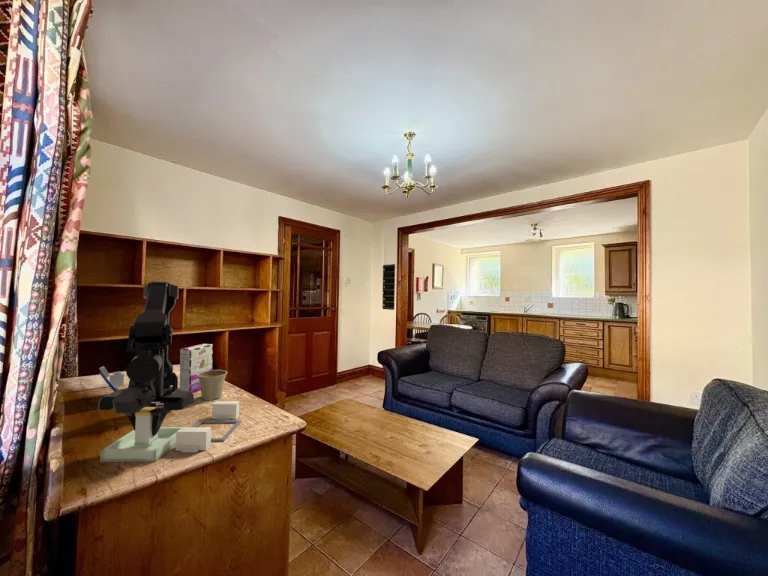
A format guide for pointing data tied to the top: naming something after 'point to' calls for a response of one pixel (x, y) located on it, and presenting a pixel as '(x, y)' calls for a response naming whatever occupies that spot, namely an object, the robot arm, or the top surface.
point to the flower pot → (212, 383)
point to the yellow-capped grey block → (144, 427)
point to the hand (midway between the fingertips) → (146, 435)
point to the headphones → (207, 428)
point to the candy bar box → (194, 365)
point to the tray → (140, 447)
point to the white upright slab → (114, 377)
